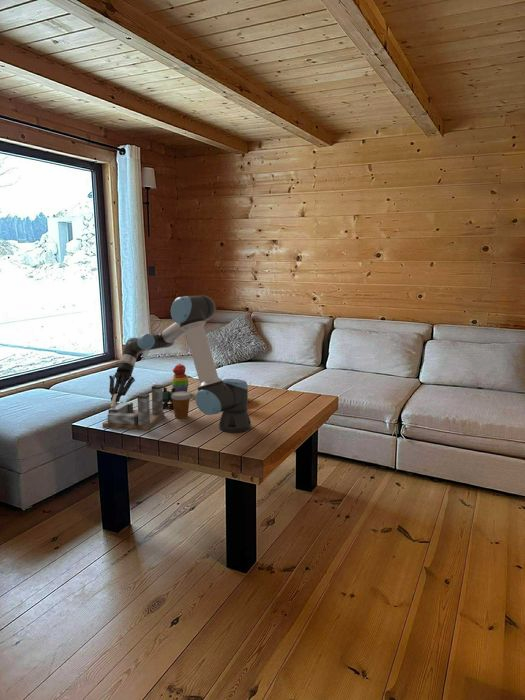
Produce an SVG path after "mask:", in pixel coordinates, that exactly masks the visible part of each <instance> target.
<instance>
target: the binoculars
mask: <svg viewBox="0 0 525 700" xmlns="http://www.w3.org/2000/svg"><path fill="white" fill-rule="evenodd" d="M162 391H163V410H165V408H166V409H167V406H168V409H169V410H174V406H173V400H172V397H171V396H172V393H174V392H176V391H175V388H173V387H172V388H171V389H170V390H168V388H167V387H165V386H163V387H162ZM169 402H170V403H169Z"/></svg>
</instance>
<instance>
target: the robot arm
mask: <svg viewBox="0 0 525 700" xmlns="http://www.w3.org/2000/svg"><path fill="white" fill-rule="evenodd" d="M215 313H216V304H215V301H214V300H213V299H212V298H211V297H210V296H207V295H205V294H204V295H203V294H201V295H184V296H178V297H176V298H175V299H174V300H173V301H172V305H171V307H170V316H171V319H172V320H173V322H174V323H172V324H170V325H169V326H168V327H167V328H165V329H164V330H163V331H161V332H160V333H155V334H150V333H144V334H141V335H139V336H138V337H135V336H133V337H128V339H127V340H126V342H125V344H124V348H123V351H122V354H121V356H120V360H119V362H118V365H117V368H116V371H115V373H114V374H113V375H112V374H111V375H109V388H108V390H109V391H108V392H109V394H110V395H111V398H110V401H111V402H110V405H109V407H110V409H111V408H112V409H115V407H116V406H117V405H118V403H120V399H121V397H122V396H126V395H127V392H128V391H129V389H130V388H131V386H132V385H133V383H134V382H135V381H136V379H135V377H134V376H133V375H132V374H133V371H134V368H135V365H136V362H137V359H138V356H139V355H140V354H142V353H145V352H146V351H152V350H158V349H163V348H164V349H165V348H169V347H172V346H173V345H174V343H175V342H176V340H178V339H180V338H181V337H182V336H184V335H185V336H186V339H187V343H188V346H189V350H190V354H191V357H192V360H193V365H194V368H195V371H196V375H197V377H198V378H197V379H198V381H199V383H198V386H197V392H196V394H195V399H194V400H195V404H196V406H197V409H199V411H200V412H201V413H202V414H203V415H208V416H213V415H216V414H219V413H221V414H220V415H221V416H220V419H219V421H218V429H219V430H221V431H223V432H225V431H227V432H226V433H233V432H236V433H244V432H247V431H249V430H250V429H251V428H252V422H251V418H250V416H249V413H248V402H249V401H248V397H249V395H248V394H249V393H248V392H249V391H248V390H249V388H248V383H247V381H245V380H243V379H237V378H224V379H222V378H220V377H219V376H218V372H217V369H216V366H215V362H214V358H213V354H212V350H211V347H210V344H209V340H208V338H207V334H206V329H205V325H206V323H207V322H208V321H209V320H211V319H212V318H213V316H215ZM246 430H247V431H246ZM243 431H244V432H243Z"/></svg>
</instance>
